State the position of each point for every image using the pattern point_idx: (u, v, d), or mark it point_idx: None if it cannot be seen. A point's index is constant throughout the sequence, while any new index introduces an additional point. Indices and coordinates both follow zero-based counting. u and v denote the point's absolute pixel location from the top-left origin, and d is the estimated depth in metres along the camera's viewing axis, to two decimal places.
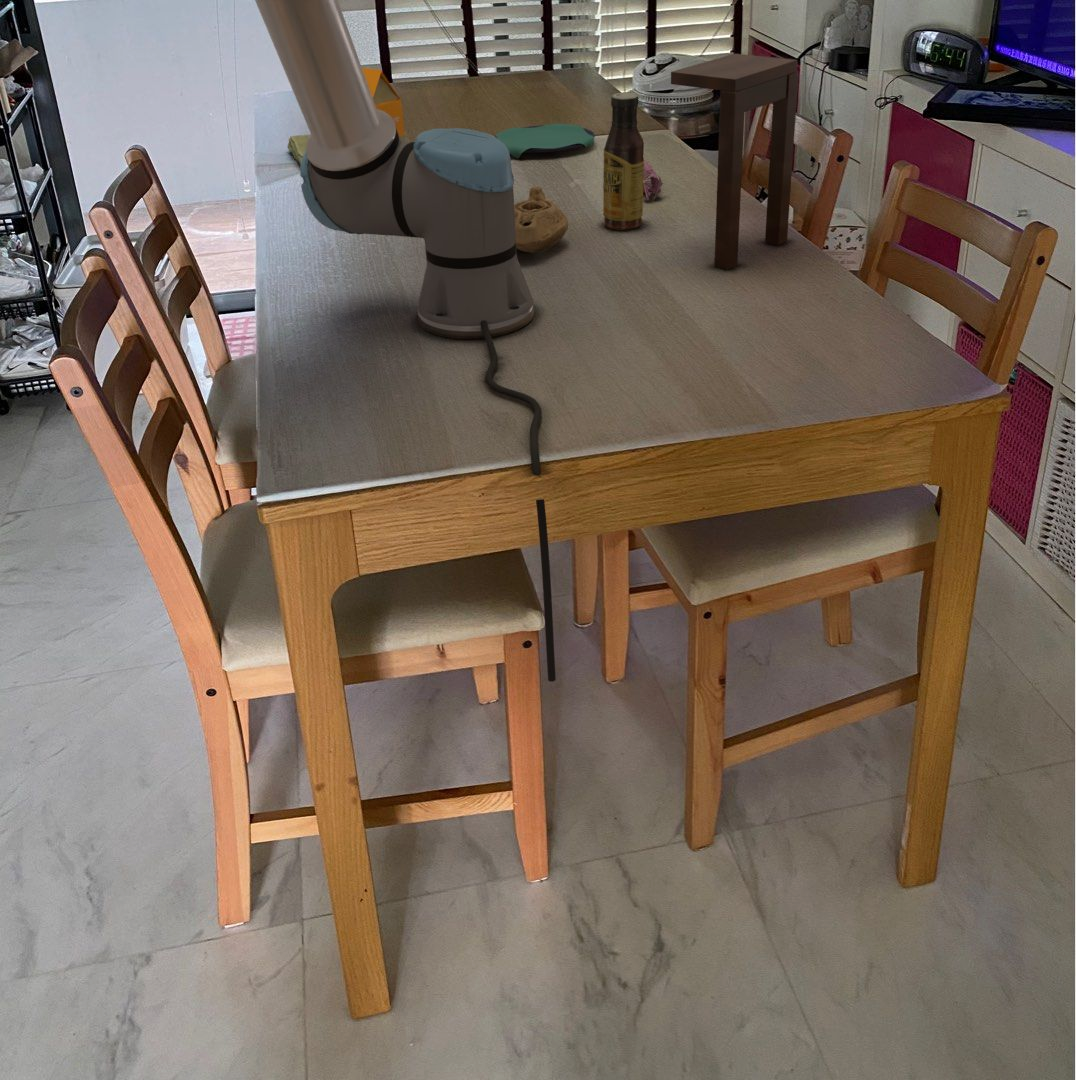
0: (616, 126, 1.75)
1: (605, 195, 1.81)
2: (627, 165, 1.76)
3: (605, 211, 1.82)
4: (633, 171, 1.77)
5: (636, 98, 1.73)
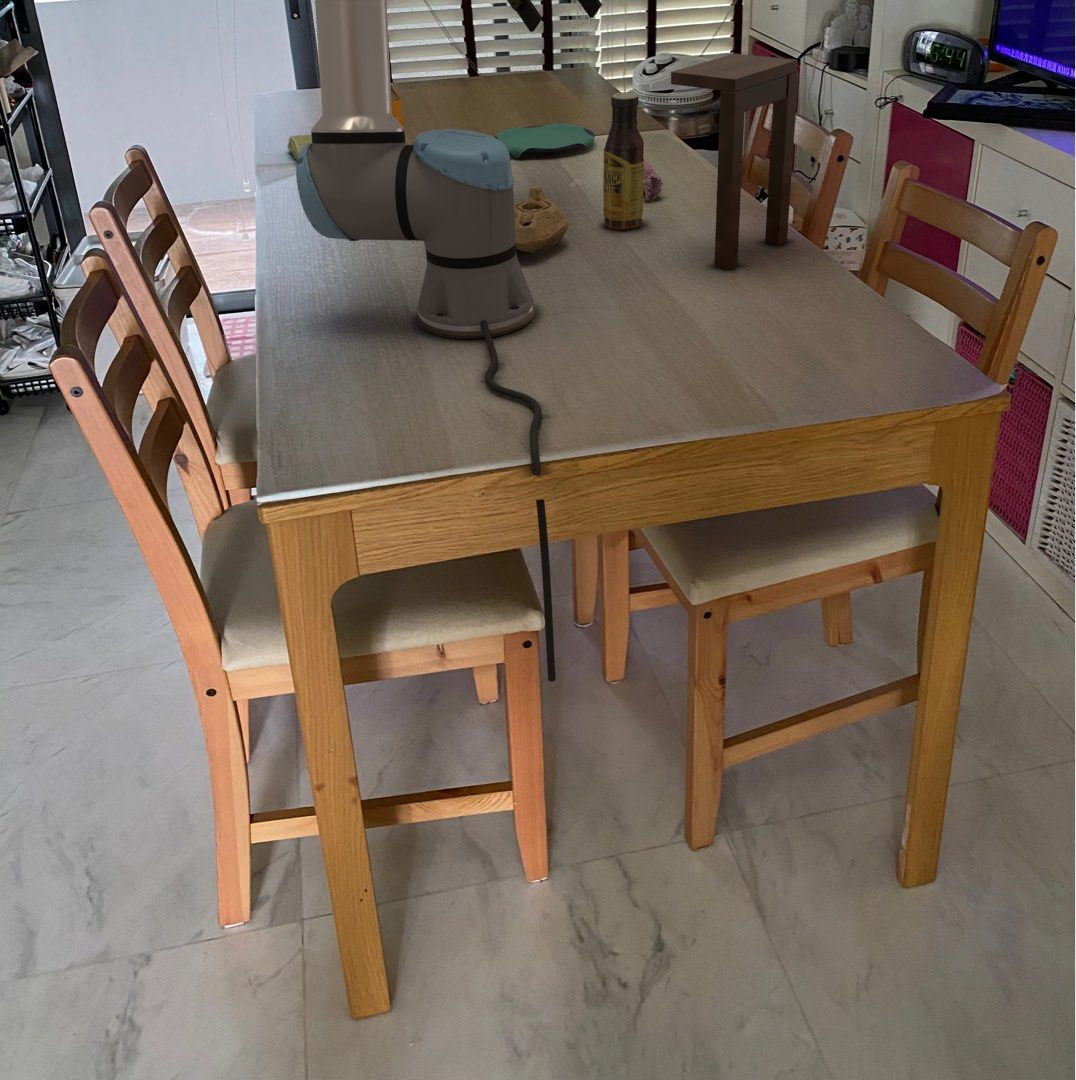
0: (616, 126, 1.75)
1: (605, 195, 1.81)
2: (627, 165, 1.76)
3: (605, 211, 1.82)
4: (633, 170, 1.77)
5: (636, 98, 1.73)
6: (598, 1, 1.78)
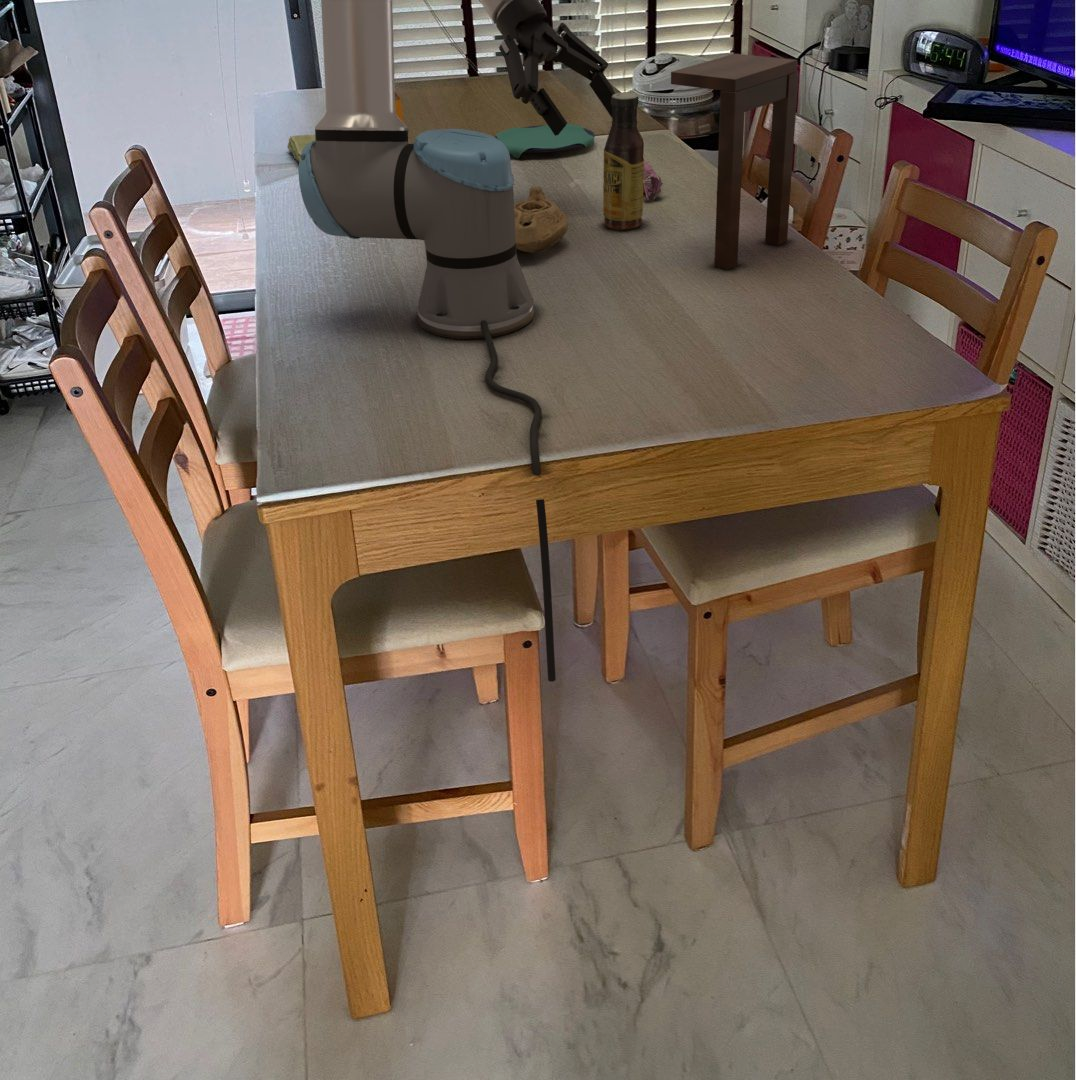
0: (616, 126, 1.75)
1: (605, 195, 1.81)
2: (627, 165, 1.76)
3: (605, 211, 1.82)
4: (633, 170, 1.77)
5: (636, 98, 1.73)
6: None
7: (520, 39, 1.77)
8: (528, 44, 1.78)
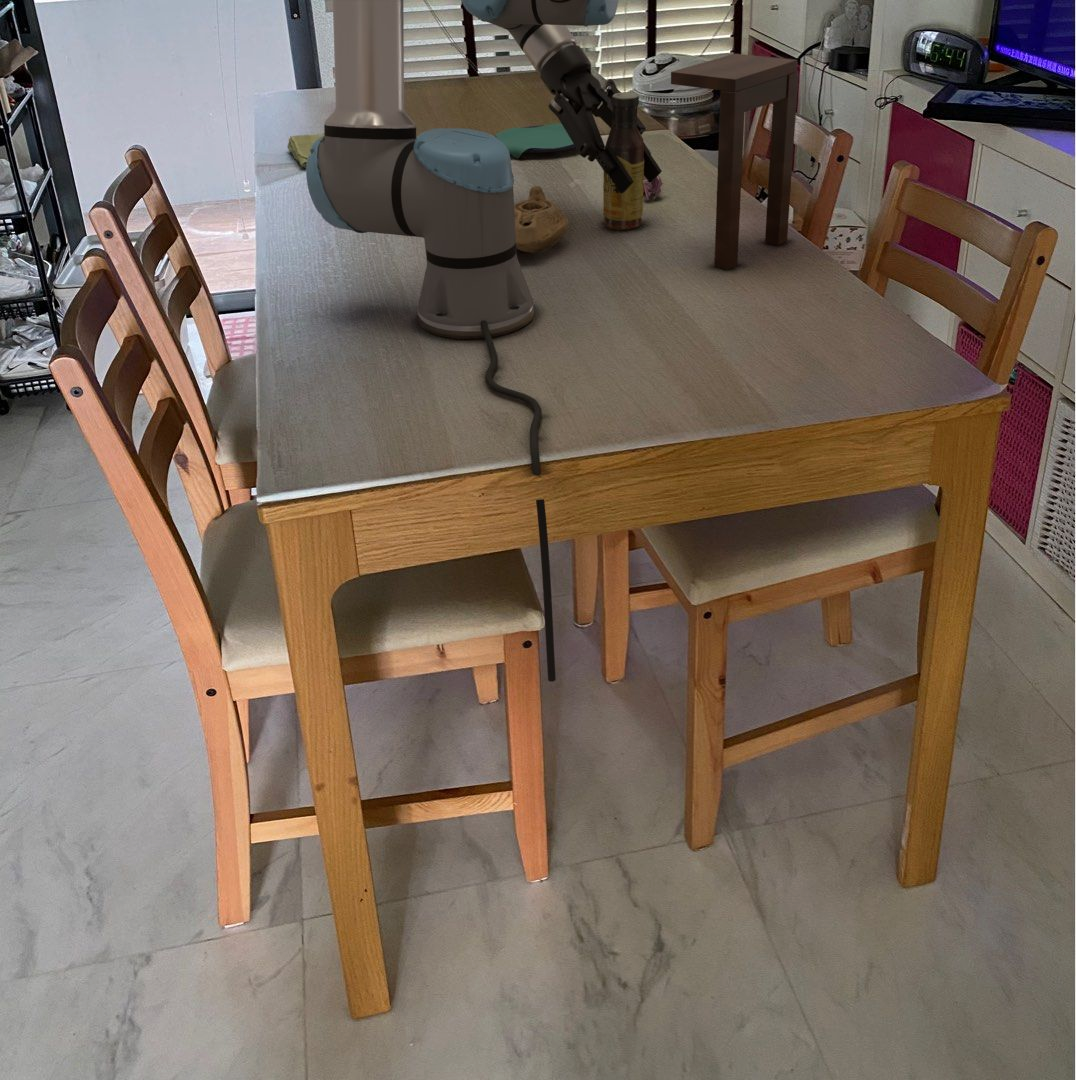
0: (617, 126, 1.75)
1: (605, 195, 1.81)
2: (627, 165, 1.76)
3: (605, 211, 1.82)
4: (633, 170, 1.77)
5: (636, 98, 1.73)
6: (658, 168, 1.79)
7: (567, 93, 1.76)
8: (573, 95, 1.76)
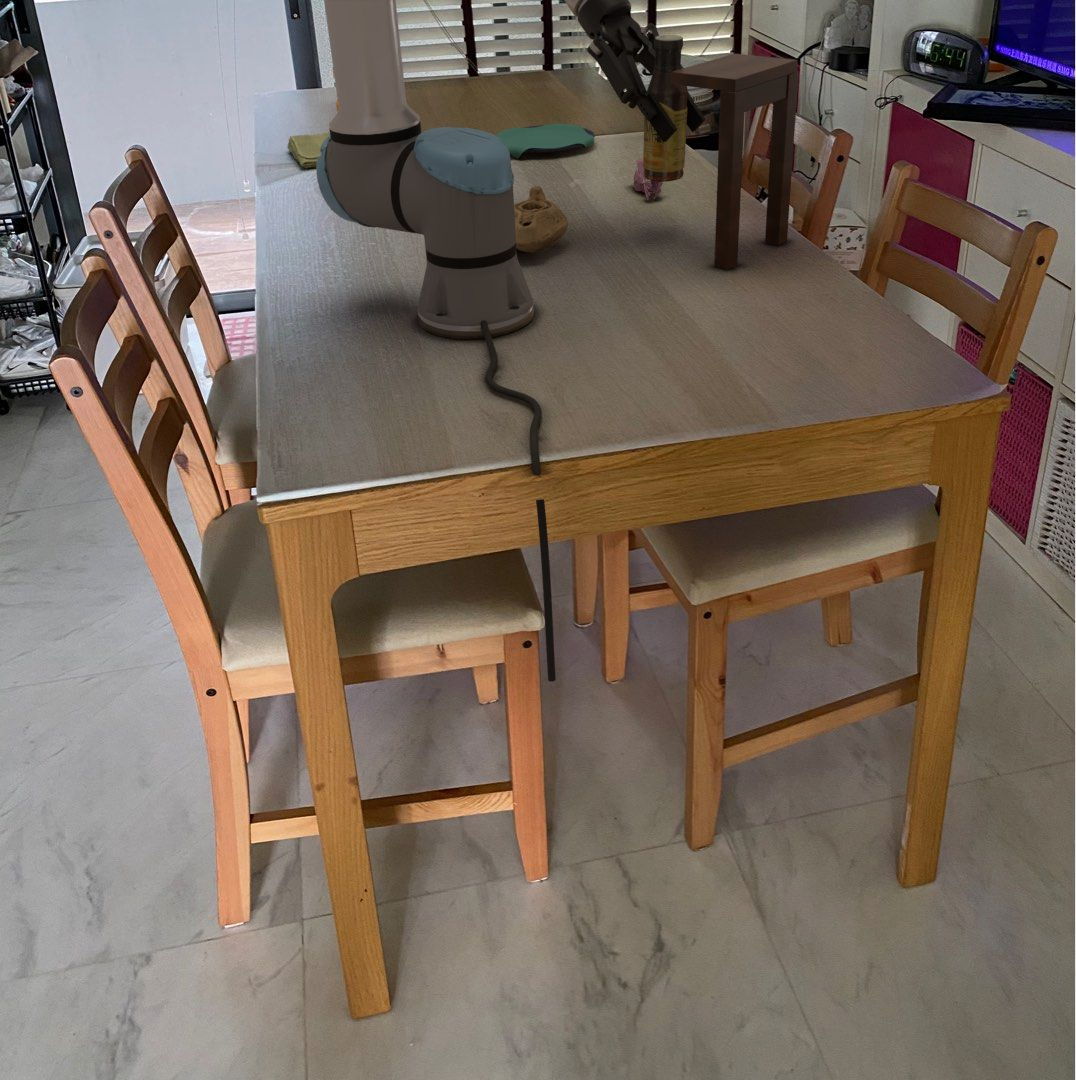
0: (660, 70, 1.65)
1: (646, 145, 1.71)
2: (670, 112, 1.67)
3: (645, 162, 1.73)
4: (676, 118, 1.68)
5: (681, 40, 1.63)
6: (701, 116, 1.70)
7: (606, 35, 1.67)
8: (613, 39, 1.67)
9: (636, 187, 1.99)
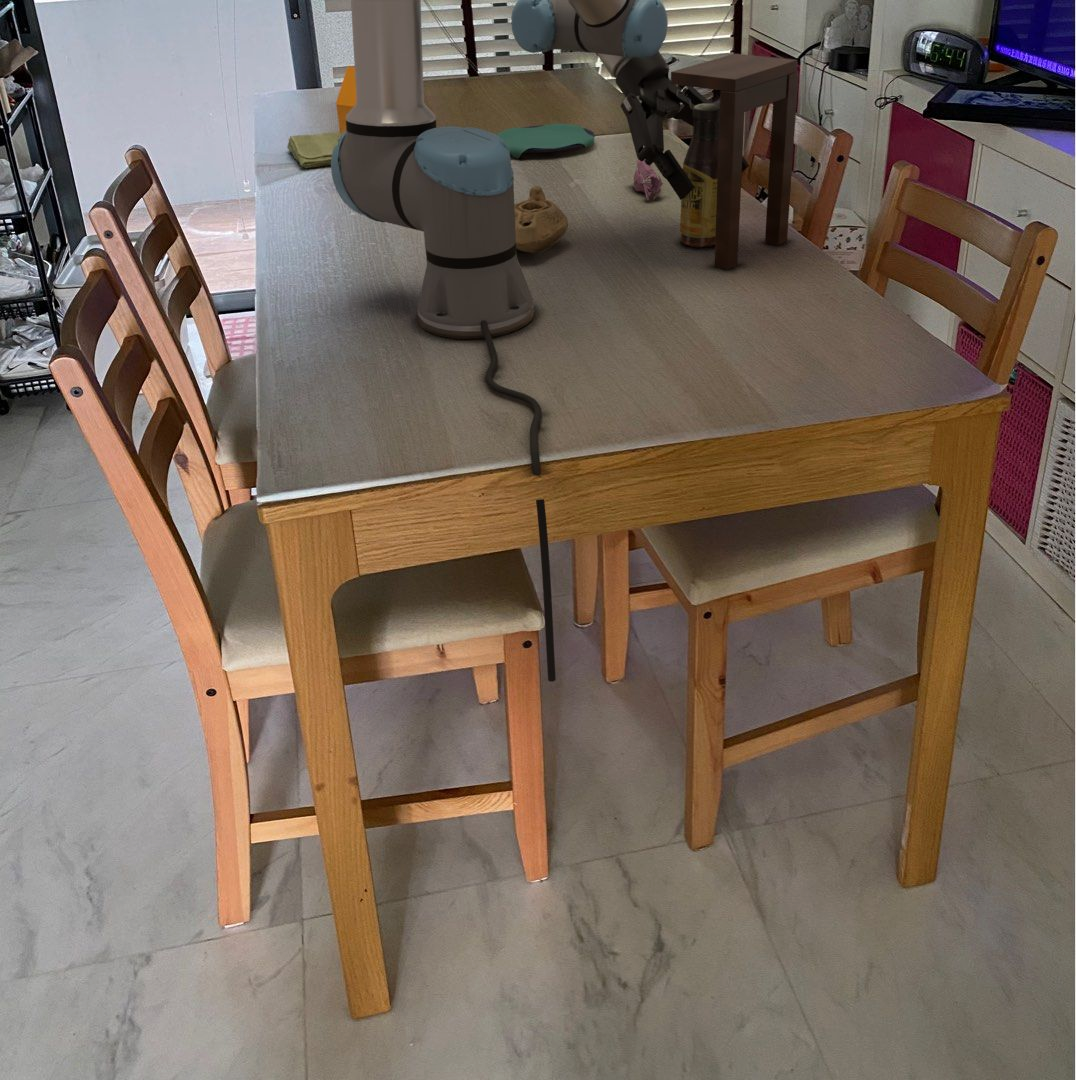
0: (698, 139, 1.66)
1: (683, 211, 1.72)
2: (708, 180, 1.67)
3: (683, 228, 1.73)
4: (714, 185, 1.68)
5: None
6: (745, 162, 1.72)
7: (643, 96, 1.67)
8: (651, 101, 1.67)
9: (636, 187, 1.99)
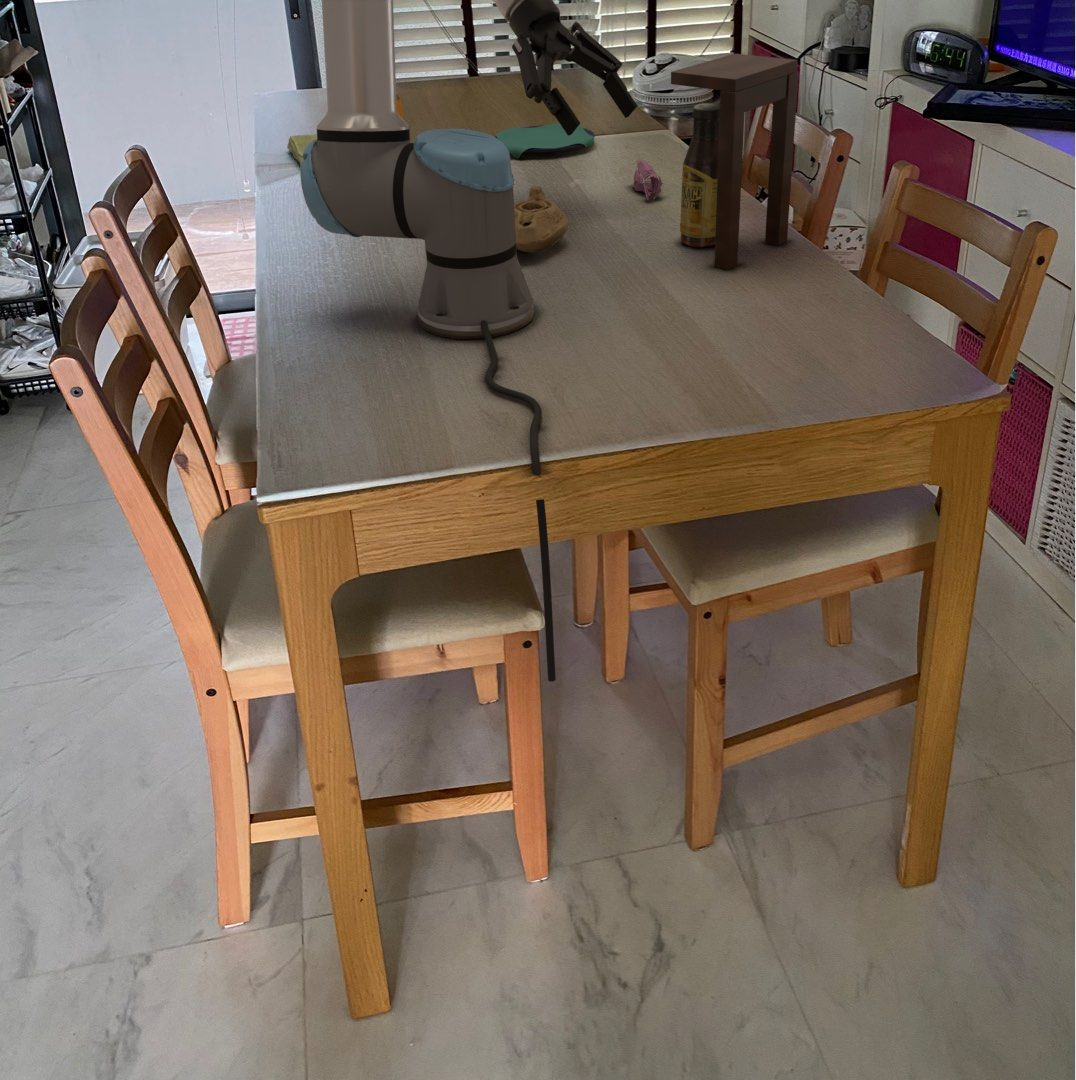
0: (698, 139, 1.66)
1: (683, 211, 1.72)
2: (708, 180, 1.67)
3: (683, 228, 1.73)
4: (714, 185, 1.68)
5: None
6: (633, 102, 1.81)
7: (533, 38, 1.76)
8: (541, 43, 1.76)
9: (636, 187, 1.99)
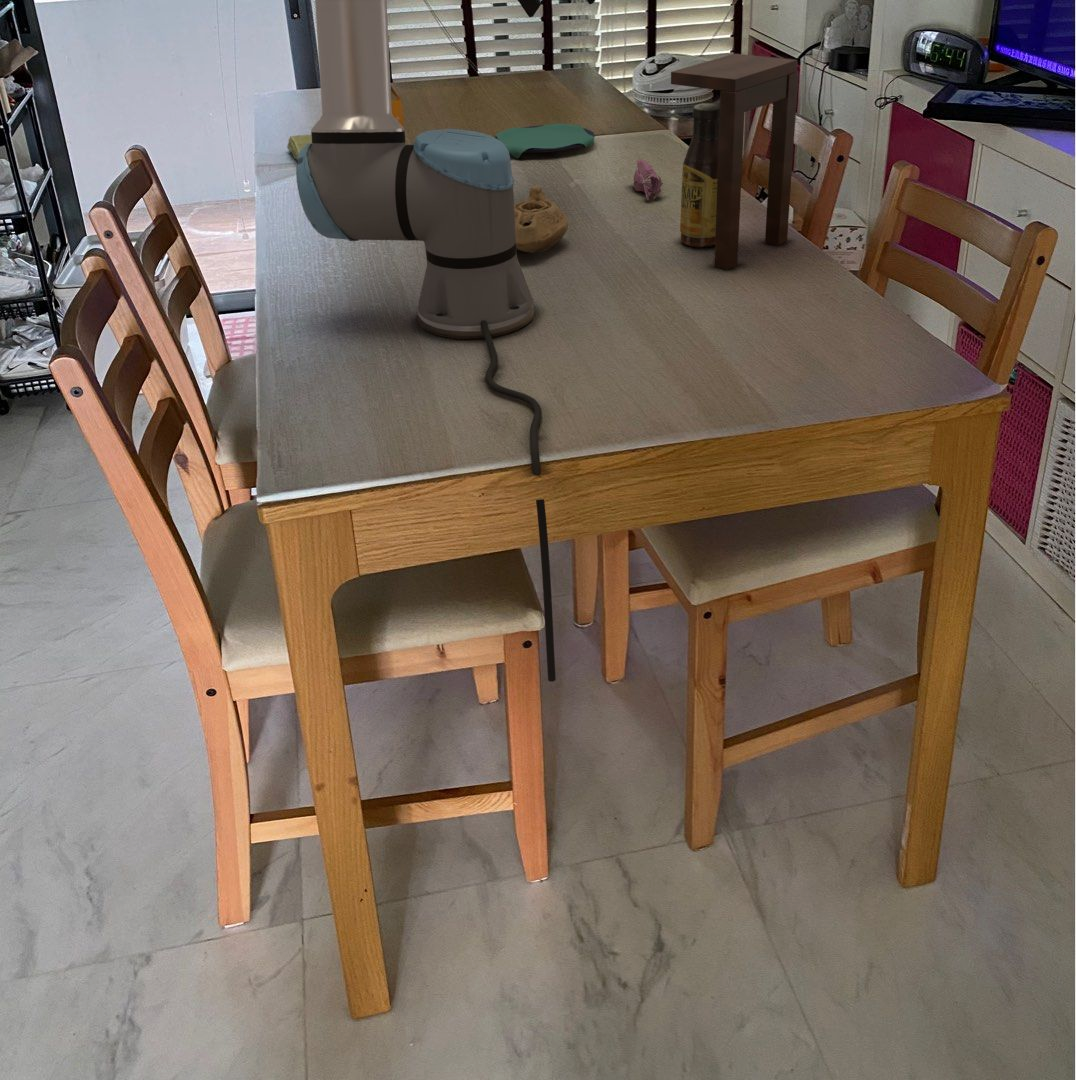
0: (698, 139, 1.66)
1: (683, 211, 1.72)
2: (708, 180, 1.67)
3: (683, 227, 1.73)
4: (714, 185, 1.68)
5: None
6: None
7: None
8: None
9: (636, 187, 1.99)
